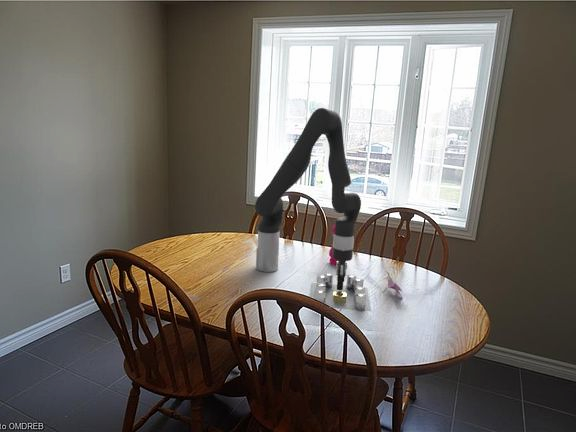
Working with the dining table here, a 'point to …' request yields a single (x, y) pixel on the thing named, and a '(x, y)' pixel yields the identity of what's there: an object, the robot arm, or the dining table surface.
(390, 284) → the lily
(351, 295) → the board
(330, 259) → the pepper mill
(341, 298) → the nut
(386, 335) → the dining table surface
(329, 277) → the spacers
